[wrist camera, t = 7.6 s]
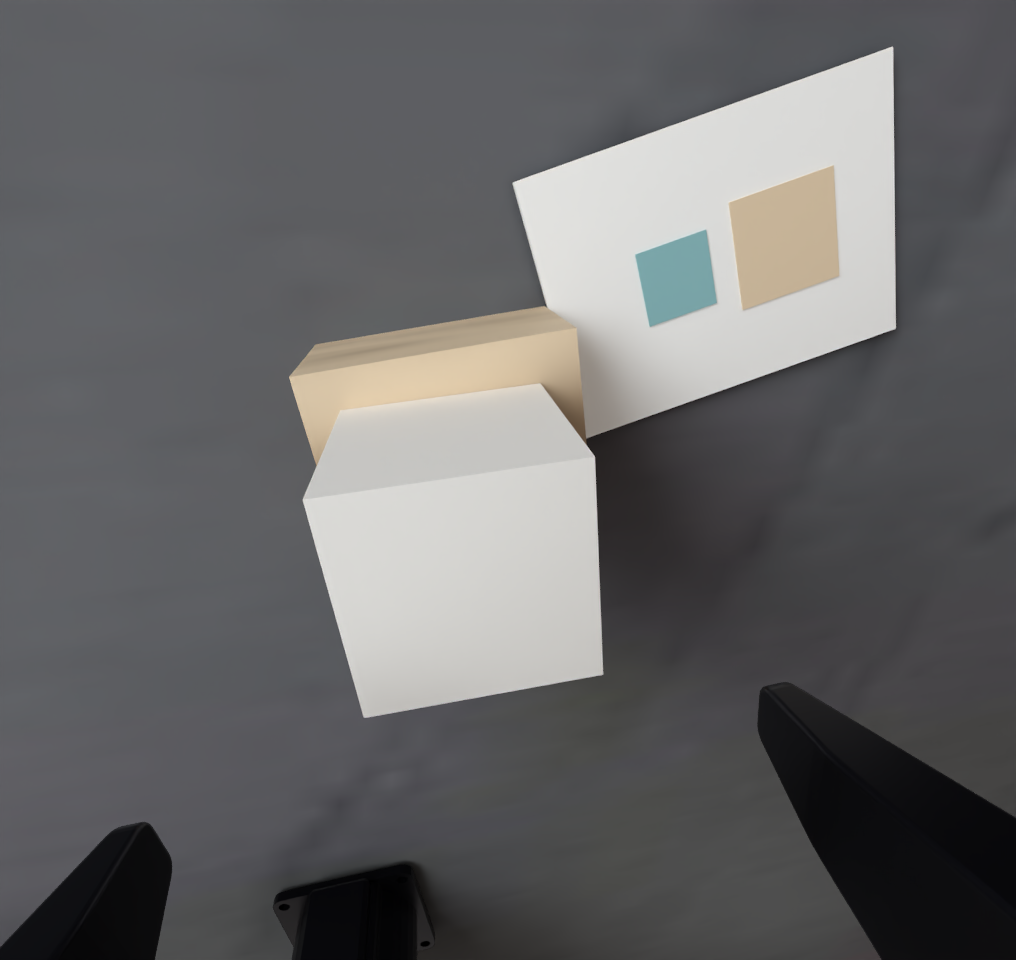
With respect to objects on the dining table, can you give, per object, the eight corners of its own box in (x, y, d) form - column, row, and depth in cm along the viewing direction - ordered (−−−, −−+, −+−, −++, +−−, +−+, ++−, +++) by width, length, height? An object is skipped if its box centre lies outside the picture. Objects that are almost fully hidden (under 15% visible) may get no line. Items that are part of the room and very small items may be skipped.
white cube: (552, 551, 17) (602, 674, 12) (379, 579, 16) (364, 718, 12) (540, 382, 14) (594, 456, 10) (340, 410, 14) (303, 499, 10)
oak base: (565, 504, 21) (597, 564, 17) (372, 542, 20) (362, 612, 17) (544, 305, 18) (576, 327, 14) (316, 344, 17) (288, 376, 14)
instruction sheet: (892, 327, 19) (897, 329, 19) (583, 437, 19) (585, 439, 19) (888, 48, 16) (895, 45, 16) (512, 182, 16) (513, 182, 16)
